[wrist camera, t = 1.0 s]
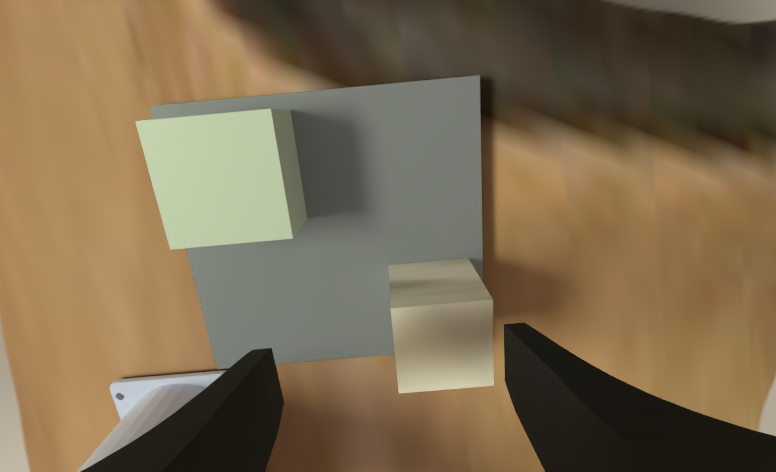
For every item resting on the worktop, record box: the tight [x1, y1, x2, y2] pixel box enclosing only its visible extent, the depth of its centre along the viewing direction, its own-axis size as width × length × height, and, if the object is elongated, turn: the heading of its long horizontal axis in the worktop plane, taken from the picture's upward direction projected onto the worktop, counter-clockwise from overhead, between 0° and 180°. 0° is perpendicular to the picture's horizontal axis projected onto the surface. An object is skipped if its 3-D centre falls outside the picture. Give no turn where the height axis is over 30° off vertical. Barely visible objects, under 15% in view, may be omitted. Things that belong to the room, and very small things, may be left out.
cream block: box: [389, 258, 494, 393], centre depth 20 cm, size 4×4×5 cm
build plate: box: [149, 75, 483, 369], centre depth 21 cm, size 15×16×1 cm
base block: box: [135, 109, 307, 250], centre depth 18 cm, size 6×6×4 cm
